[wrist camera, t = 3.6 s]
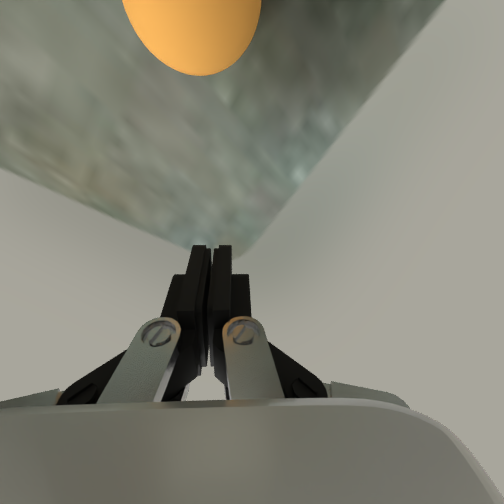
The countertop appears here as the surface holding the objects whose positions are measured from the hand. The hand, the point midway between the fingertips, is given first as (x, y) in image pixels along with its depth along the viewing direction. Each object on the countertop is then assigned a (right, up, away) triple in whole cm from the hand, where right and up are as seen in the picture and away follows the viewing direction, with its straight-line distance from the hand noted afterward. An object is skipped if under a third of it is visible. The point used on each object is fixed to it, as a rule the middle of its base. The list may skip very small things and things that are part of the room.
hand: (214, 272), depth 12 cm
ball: (-1, +12, 0) cm, 12 cm away
